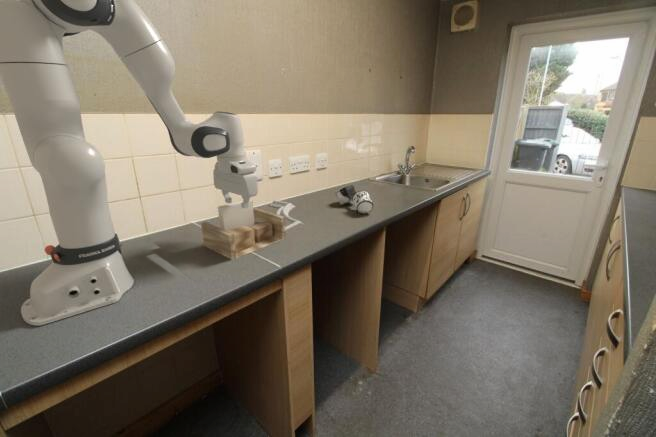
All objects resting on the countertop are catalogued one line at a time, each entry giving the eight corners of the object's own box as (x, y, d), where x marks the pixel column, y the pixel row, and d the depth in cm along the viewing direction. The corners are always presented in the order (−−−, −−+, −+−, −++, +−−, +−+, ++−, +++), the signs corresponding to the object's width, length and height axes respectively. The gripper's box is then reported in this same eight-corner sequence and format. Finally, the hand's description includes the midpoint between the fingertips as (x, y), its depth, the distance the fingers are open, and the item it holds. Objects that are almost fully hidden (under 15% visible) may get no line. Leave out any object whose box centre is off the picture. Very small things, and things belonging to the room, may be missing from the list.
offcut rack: (232, 264, 94) (229, 235, 91) (204, 249, 104) (201, 223, 101) (285, 241, 110) (284, 216, 107) (257, 231, 120) (255, 207, 117)
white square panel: (226, 245, 104) (222, 208, 99) (222, 243, 105) (217, 206, 101) (255, 234, 112) (252, 200, 108) (251, 232, 114) (248, 199, 110)
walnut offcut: (258, 242, 105) (257, 229, 104) (251, 239, 108) (249, 226, 106) (272, 237, 110) (272, 224, 109) (265, 234, 113) (264, 221, 111)
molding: (268, 205, 154) (268, 199, 153) (293, 203, 157) (292, 198, 156) (276, 237, 115) (276, 230, 115) (308, 234, 118) (308, 227, 117)
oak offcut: (234, 253, 98) (232, 236, 96) (225, 249, 101) (223, 232, 99) (255, 245, 103) (253, 228, 101) (246, 241, 106) (244, 225, 104)
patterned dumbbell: (378, 214, 140) (379, 193, 136) (360, 217, 136) (360, 195, 132) (349, 200, 161) (350, 181, 158) (332, 202, 157) (332, 183, 153)
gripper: (206, 162, 104) (211, 201, 109) (242, 169, 92) (247, 213, 97) (222, 160, 109) (227, 197, 114) (259, 166, 96) (263, 208, 101)
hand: (236, 205), depth 105 cm, fingers open, 8 cm apart
